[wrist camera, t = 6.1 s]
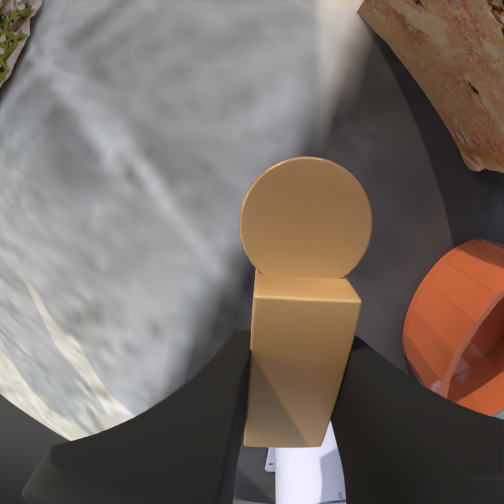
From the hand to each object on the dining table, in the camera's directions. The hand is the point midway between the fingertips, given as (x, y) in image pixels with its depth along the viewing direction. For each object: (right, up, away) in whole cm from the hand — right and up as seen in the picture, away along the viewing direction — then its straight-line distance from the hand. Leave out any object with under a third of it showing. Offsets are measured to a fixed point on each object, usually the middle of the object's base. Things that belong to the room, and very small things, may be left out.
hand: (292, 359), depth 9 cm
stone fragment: (+7, +11, -2) cm, 13 cm away
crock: (+16, -2, +9) cm, 18 cm away
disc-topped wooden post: (0, +2, +1) cm, 2 cm away
